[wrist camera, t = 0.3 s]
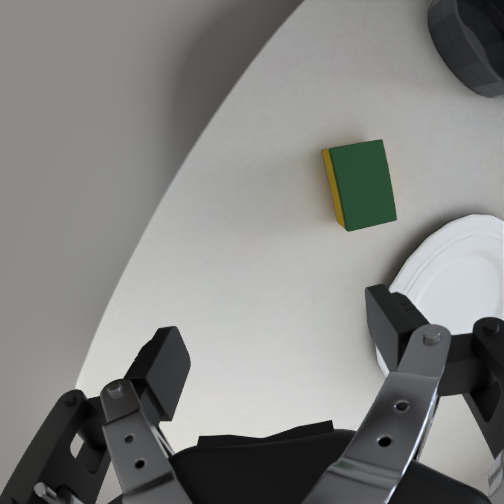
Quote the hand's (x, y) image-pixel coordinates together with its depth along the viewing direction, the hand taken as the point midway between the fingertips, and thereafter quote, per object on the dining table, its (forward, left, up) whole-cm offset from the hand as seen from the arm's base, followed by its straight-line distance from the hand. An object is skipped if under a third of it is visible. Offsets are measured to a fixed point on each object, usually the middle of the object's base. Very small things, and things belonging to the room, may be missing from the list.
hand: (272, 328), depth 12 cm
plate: (+12, +18, -14) cm, 25 cm away
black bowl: (-15, +26, -13) cm, 33 cm away
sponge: (-3, +8, -13) cm, 16 cm away
